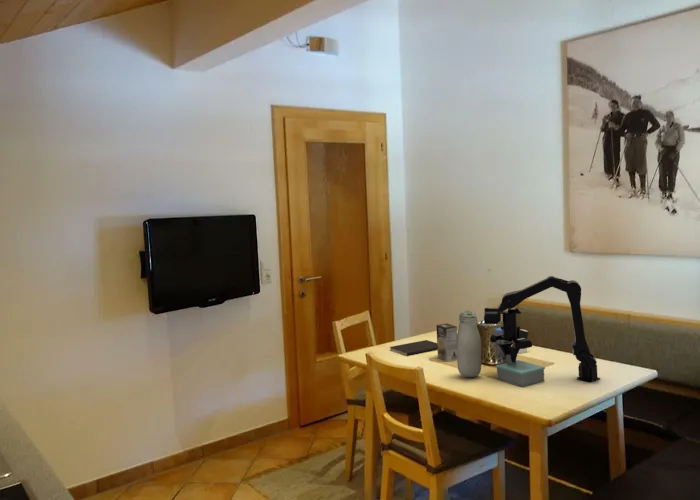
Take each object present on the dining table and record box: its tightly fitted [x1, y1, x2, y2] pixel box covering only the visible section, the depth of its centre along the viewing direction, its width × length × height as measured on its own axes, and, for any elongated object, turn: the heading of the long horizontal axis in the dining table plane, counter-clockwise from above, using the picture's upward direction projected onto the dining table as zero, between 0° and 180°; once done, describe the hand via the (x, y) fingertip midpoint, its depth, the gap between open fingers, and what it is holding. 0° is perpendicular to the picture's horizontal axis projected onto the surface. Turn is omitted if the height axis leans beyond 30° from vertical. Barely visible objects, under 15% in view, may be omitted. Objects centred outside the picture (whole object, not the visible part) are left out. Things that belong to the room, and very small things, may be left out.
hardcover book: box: [389, 339, 438, 357], centre depth 308 cm, size 16×23×2 cm
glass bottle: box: [456, 310, 482, 378], centre depth 255 cm, size 10×10×28 cm
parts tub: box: [496, 367, 545, 388], centre depth 247 cm, size 14×12×5 cm
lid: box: [495, 354, 546, 375], centre depth 246 cm, size 15×13×6 cm
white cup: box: [512, 329, 528, 354], centre depth 292 cm, size 8×8×10 cm
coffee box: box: [436, 323, 458, 363], centre depth 286 cm, size 9×6×16 cm
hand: (511, 361), depth 251 cm, fingers closed on lid, 2 cm apart
